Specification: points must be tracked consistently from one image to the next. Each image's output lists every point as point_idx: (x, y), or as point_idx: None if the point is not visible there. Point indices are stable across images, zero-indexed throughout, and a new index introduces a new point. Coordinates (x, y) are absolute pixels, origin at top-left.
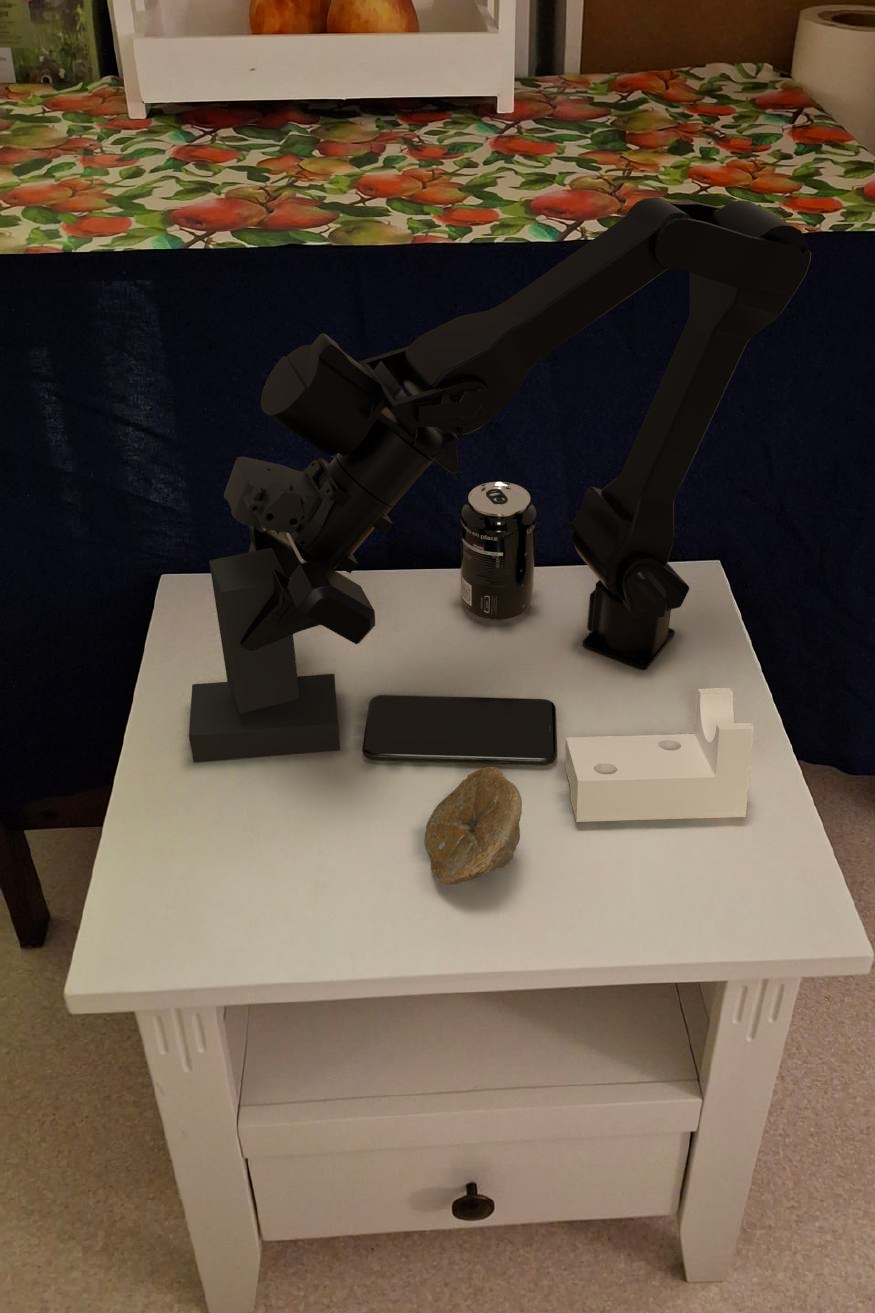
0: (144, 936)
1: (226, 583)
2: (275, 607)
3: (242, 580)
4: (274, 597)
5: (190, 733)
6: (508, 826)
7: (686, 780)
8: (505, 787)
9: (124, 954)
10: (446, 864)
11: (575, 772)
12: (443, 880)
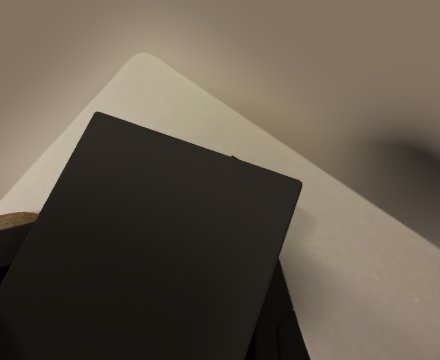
0: (141, 80)
1: (116, 145)
2: (10, 227)
3: (86, 201)
4: (15, 248)
5: (233, 157)
6: None
7: None
8: None
9: (140, 69)
10: (23, 220)
11: None
12: (24, 212)
